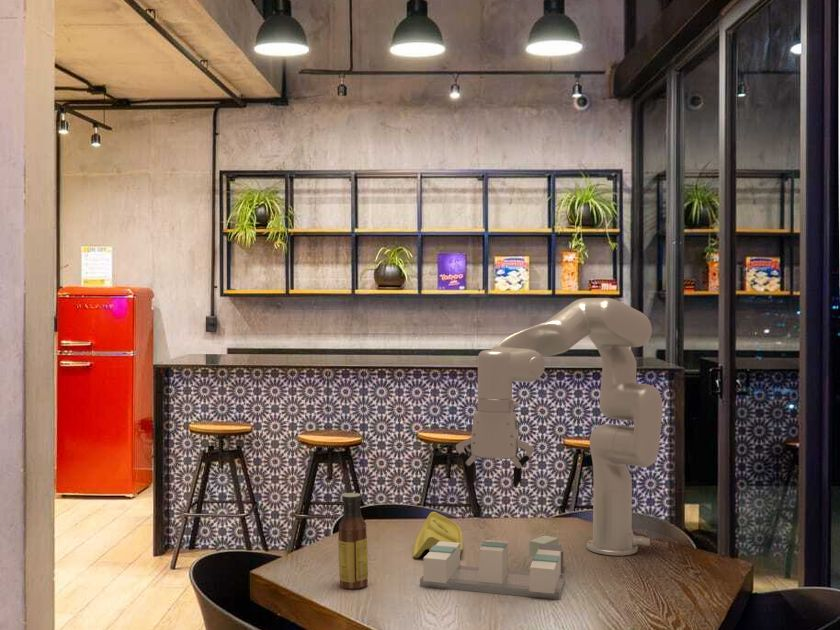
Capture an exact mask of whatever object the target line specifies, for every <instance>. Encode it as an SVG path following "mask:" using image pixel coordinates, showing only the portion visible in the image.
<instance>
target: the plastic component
mask: <svg viewBox="0 0 840 630" xmlns="http://www.w3.org/2000/svg"><path fill="white" fill-rule="evenodd" d="M439 541H443V542H455V543H460V554H461V553H462V551H463V549H464V548H463V532H462V529H461V527H460V526H459V525H458V524H457V523H456V522H454V520H451V519H450V518H448V517H446V516H444V515H442V514H440V513H439V512H436V511H432V512H430V513H429V514H428V516H427V517H426V519H425V520H424V522H423V524H422V526H421V528H420V530H419V532H418V534H417V536H416V538H415V541H414V544H413V550H412V558H413V559H418V558H420V557H421V556H422V554H423V553H424V552H425V551H426V550H430V549H431V548H432V547H433V545H436V544H437V543H438V542H439Z"/></svg>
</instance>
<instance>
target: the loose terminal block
mask: <svg viewBox="0 0 840 630" xmlns="http://www.w3.org/2000/svg"><path fill="white" fill-rule="evenodd" d="M540 544H550V545H559V537H554V536H549V535H542V536H538V537H536V538H534V539H530V540H529V549H528V551H529V552H528V553H529V554H528V555H529V556H532V557H531V558H534V556H535V554H537V551H538V549H540Z"/></svg>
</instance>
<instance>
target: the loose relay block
mask: <svg viewBox="0 0 840 630" xmlns="http://www.w3.org/2000/svg"><path fill="white" fill-rule="evenodd" d="M540 550H552V551H561V574H564V550H563V547H562V544H558V545H550V544H540Z"/></svg>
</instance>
